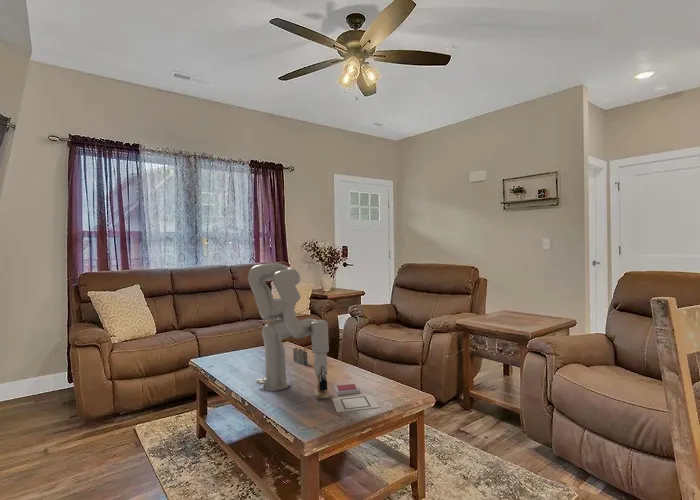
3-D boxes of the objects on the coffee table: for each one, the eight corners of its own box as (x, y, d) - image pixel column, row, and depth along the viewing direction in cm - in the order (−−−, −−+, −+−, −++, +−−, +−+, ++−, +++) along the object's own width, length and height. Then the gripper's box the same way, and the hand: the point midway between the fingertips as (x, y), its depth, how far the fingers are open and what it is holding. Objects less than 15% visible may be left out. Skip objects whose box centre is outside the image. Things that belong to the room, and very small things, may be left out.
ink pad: (337, 395, 181) (337, 391, 181) (334, 388, 189) (334, 385, 189) (359, 392, 183) (358, 389, 183) (355, 386, 191) (355, 383, 191)
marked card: (336, 412, 163) (336, 411, 163) (332, 399, 177) (332, 398, 177) (379, 407, 166) (379, 406, 166) (371, 395, 180) (371, 394, 180)
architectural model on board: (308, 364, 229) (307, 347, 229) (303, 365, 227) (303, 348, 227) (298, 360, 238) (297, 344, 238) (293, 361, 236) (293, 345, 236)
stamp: (316, 400, 176) (315, 378, 176) (314, 395, 182) (313, 374, 182) (329, 398, 177) (328, 377, 177) (327, 393, 183) (326, 373, 183)
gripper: (310, 344, 187) (312, 381, 187) (313, 354, 170) (316, 394, 170) (326, 343, 188) (328, 379, 189) (331, 352, 171) (333, 392, 172)
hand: (322, 386), depth 179 cm, fingers open, 9 cm apart
